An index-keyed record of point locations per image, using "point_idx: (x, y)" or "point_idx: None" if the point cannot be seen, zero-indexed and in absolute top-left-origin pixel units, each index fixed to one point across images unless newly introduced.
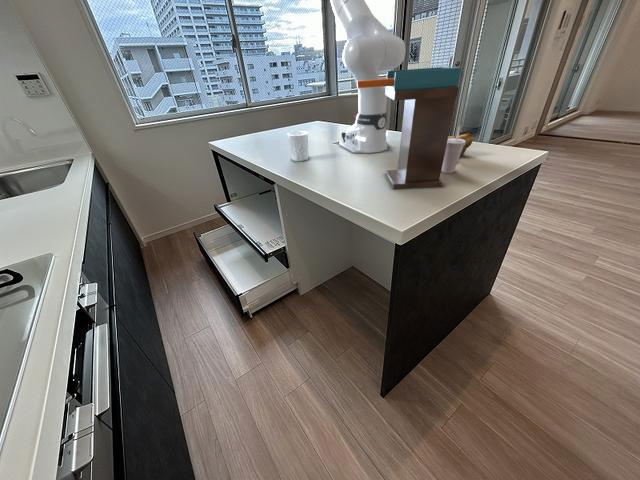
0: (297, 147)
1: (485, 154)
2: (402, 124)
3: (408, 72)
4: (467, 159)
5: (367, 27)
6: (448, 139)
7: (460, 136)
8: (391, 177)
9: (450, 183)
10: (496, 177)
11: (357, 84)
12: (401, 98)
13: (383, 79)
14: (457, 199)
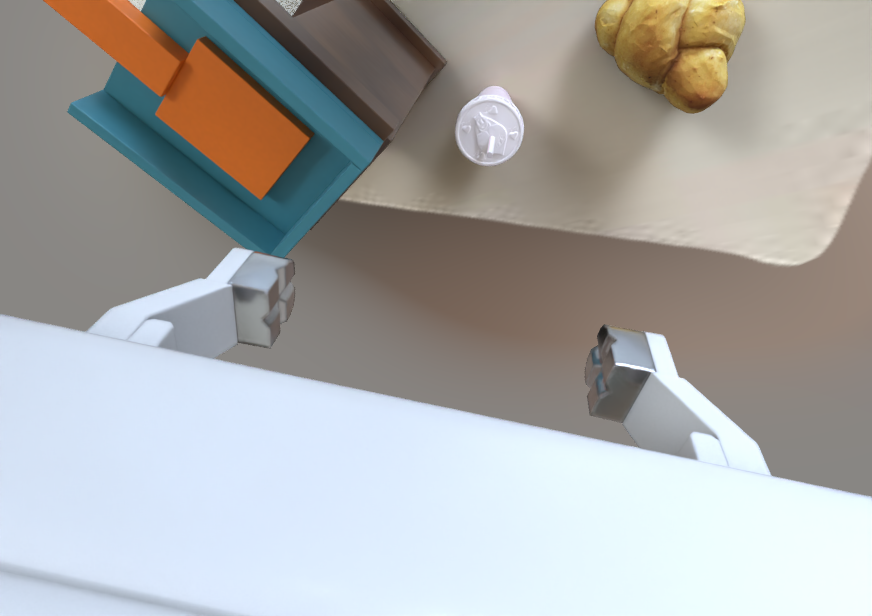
0: None
1: (729, 134)
2: (310, 10)
3: (114, 146)
4: (642, 106)
5: None
6: (493, 111)
7: (686, 71)
8: (301, 12)
9: (410, 150)
10: (516, 220)
11: None
12: None
13: (75, 23)
14: (340, 197)
